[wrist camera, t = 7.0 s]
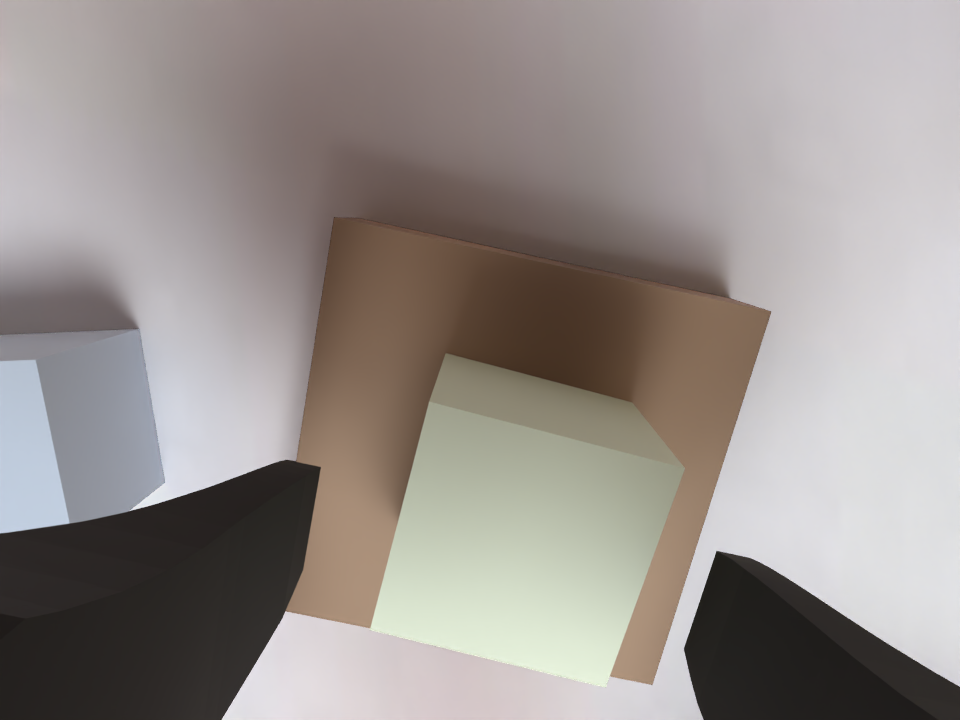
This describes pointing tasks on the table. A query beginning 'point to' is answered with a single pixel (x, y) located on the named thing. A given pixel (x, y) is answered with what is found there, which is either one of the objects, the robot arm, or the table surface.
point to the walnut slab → (514, 346)
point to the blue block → (74, 428)
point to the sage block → (526, 522)
